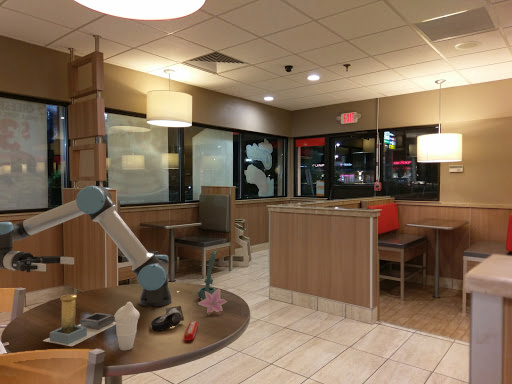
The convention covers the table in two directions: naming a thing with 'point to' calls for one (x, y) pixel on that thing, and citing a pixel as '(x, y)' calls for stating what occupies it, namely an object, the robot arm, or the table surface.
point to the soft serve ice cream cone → (126, 325)
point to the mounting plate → (89, 334)
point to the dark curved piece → (208, 278)
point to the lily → (213, 301)
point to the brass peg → (68, 313)
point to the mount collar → (97, 321)
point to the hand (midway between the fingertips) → (60, 264)
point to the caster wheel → (168, 319)
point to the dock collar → (68, 335)
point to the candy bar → (191, 331)
